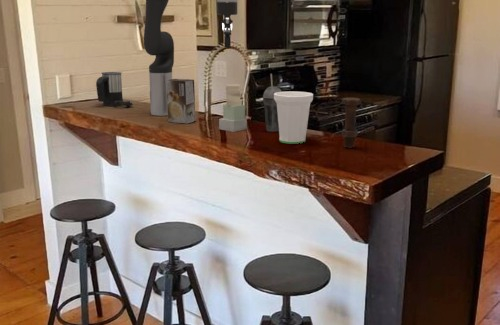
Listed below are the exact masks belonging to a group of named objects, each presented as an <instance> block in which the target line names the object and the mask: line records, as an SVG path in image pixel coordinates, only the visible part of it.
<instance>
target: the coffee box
mask: <svg viewBox="0 0 500 325" xmlns="http://www.w3.org/2000/svg"><path fill="white" fill-rule="evenodd" d="M166 85H167V105H168V115H167V120H168V123H176V124H187V125H188V124H191V123H195V122H196V100H195V99H196V97H195V96H196V95H195V79H186V78H172V79H170V80H166ZM194 121H195V122H194Z"/></svg>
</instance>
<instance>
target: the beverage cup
mask: <svg viewBox="0 0 500 325" xmlns="http://www.w3.org/2000/svg"><path fill="white" fill-rule="evenodd" d="M269 75H270V86H268V87H266V89H265V90H264V92H263V94H262V99H263V106H264V107H263V108H264V118H265V128H266V131H267V132H271V133H273V132H279V124H278V113H277V103H276V102H275V100H274V94H275V93H277V92H283V91H282V90H281V88H280V87H278V86H275V85H273V73H270V74H269Z"/></svg>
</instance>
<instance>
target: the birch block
mask: <svg viewBox="0 0 500 325" xmlns="http://www.w3.org/2000/svg"><path fill="white" fill-rule="evenodd" d="M225 92H226V93H225V94H226V104H227V106H241V105H240V104H241V84H240V83H234V84H233V83H228V84H227V83H226V84H225Z"/></svg>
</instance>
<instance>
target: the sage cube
mask: <svg viewBox="0 0 500 325" xmlns="http://www.w3.org/2000/svg"><path fill="white" fill-rule="evenodd" d="M240 105H241V106H227V103H226V104H223V105H222V113H223V114H222V116H223V117H222V118H223V119H227V120H232V121H235V120H242V119H245V118H246V104H242V103H240Z"/></svg>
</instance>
